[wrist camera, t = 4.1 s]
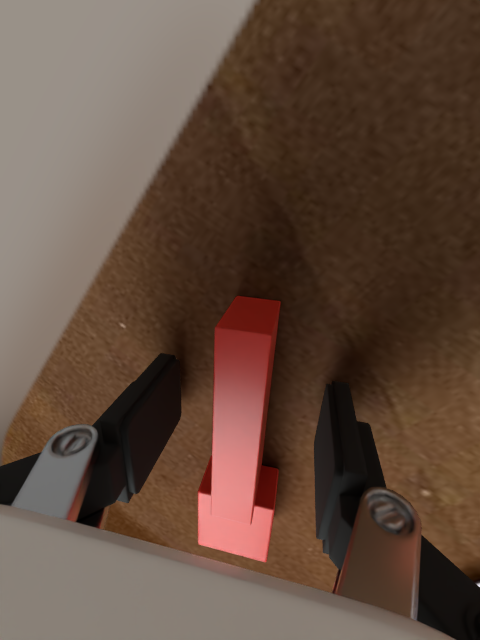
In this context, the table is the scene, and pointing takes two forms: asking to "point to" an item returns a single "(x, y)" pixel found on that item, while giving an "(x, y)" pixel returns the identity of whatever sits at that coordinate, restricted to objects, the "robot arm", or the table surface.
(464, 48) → the table surface
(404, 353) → the table surface
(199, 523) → the red stepped bar
